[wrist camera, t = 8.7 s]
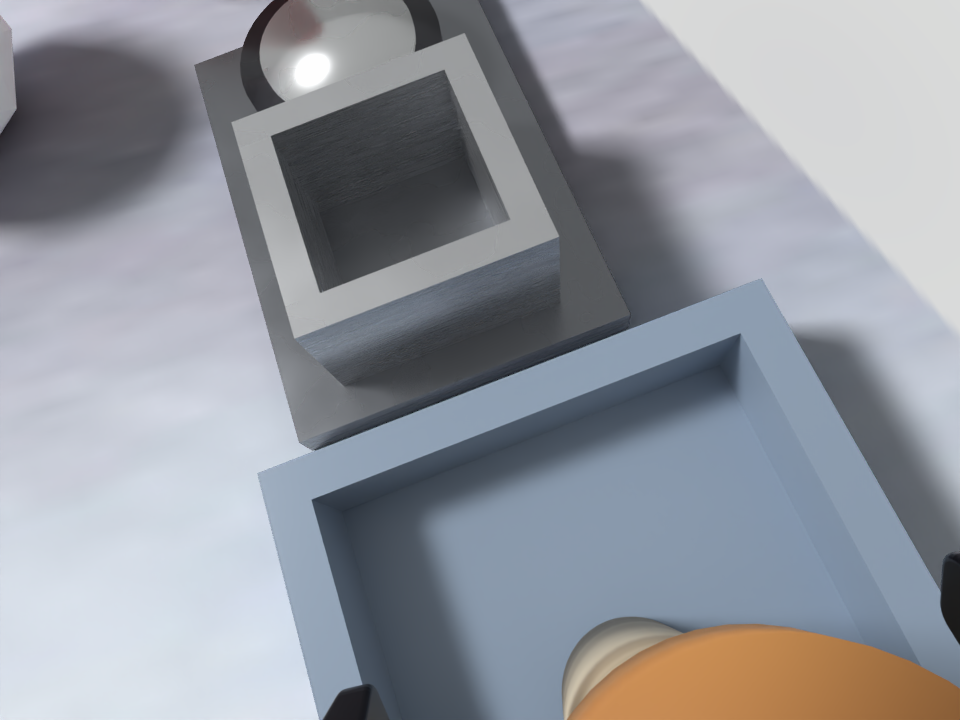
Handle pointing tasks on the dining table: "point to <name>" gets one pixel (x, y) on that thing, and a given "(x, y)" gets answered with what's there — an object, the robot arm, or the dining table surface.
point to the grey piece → (398, 209)
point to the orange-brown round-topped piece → (743, 676)
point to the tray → (595, 520)
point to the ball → (6, 75)
